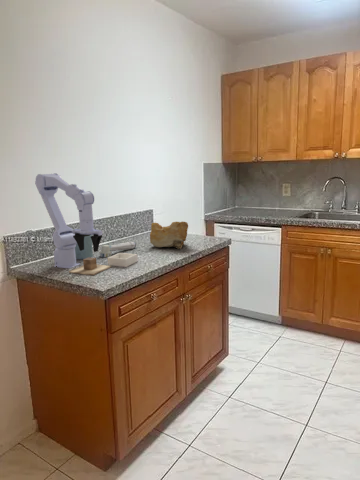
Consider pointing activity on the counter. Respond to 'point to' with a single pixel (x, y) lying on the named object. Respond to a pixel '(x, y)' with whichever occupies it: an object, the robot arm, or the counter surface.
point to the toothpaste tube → (116, 248)
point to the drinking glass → (85, 248)
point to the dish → (122, 259)
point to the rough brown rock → (169, 235)
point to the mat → (92, 275)
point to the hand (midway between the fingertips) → (88, 250)
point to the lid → (90, 267)
